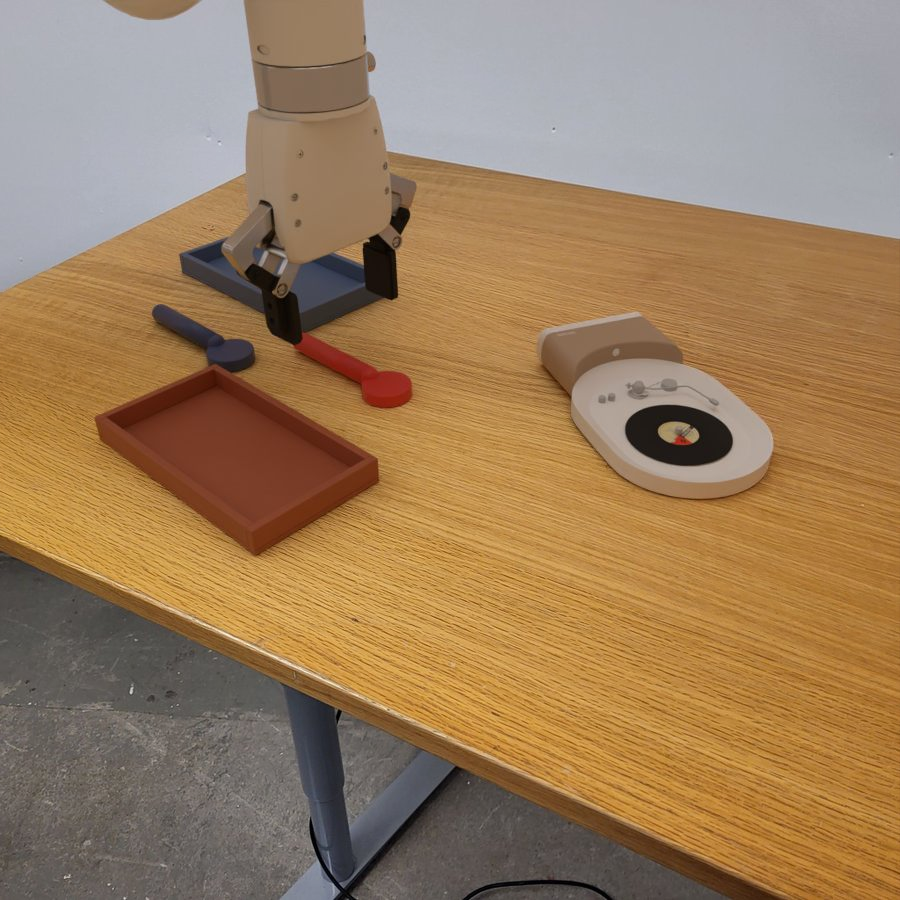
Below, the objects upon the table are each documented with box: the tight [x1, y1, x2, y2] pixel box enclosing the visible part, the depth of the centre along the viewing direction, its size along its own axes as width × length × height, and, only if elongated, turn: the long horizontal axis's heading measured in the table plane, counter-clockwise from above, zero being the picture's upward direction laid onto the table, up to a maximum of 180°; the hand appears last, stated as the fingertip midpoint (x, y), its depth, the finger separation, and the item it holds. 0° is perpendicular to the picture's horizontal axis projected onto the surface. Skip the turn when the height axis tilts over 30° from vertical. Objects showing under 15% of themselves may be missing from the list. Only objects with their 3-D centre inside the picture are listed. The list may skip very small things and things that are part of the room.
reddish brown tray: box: [93, 364, 380, 556], centre depth 64 cm, size 18×10×2 cm, turn 47°
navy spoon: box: [151, 303, 256, 373], centre depth 77 cm, size 13×4×2 cm, turn 47°
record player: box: [536, 311, 775, 500], centre depth 67 cm, size 12×3×20 cm
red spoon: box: [292, 332, 413, 409], centre depth 73 cm, size 13×4×2 cm, turn 47°
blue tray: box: [178, 236, 384, 333], centre depth 87 cm, size 18×10×2 cm, turn 47°
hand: (335, 315), depth 72 cm, fingers open, 9 cm apart
